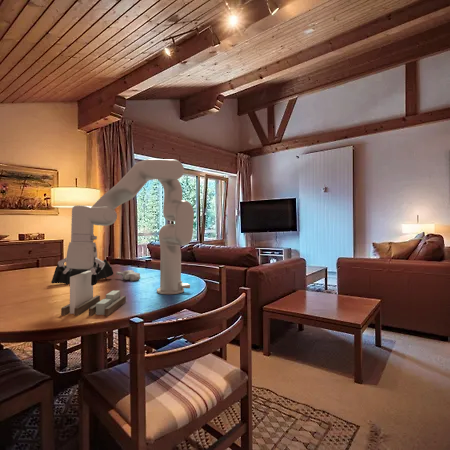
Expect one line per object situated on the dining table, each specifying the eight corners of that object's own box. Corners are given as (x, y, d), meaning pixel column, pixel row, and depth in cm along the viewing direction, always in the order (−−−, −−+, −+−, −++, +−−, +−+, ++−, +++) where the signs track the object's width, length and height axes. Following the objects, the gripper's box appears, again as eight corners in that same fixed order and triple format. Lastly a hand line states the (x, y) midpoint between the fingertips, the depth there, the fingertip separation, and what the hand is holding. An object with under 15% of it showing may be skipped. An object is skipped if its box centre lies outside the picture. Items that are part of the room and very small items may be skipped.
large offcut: (120, 302, 120) (120, 290, 120) (113, 308, 113) (113, 294, 113) (112, 302, 120) (112, 290, 120) (105, 307, 113) (105, 294, 113)
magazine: (47, 268, 147) (106, 248, 166) (45, 267, 150) (104, 247, 169) (58, 299, 151) (114, 276, 170) (56, 298, 153) (112, 275, 172)
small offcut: (111, 310, 111) (111, 299, 111) (104, 315, 105) (104, 303, 105) (102, 309, 111) (103, 299, 111) (95, 314, 105) (96, 303, 105)
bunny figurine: (130, 275, 160) (114, 268, 169) (129, 284, 160) (113, 277, 169) (144, 272, 167) (128, 267, 176) (144, 281, 168) (128, 275, 177)
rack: (125, 302, 121) (125, 295, 121) (108, 316, 103) (108, 308, 103) (85, 301, 122) (85, 295, 121) (61, 315, 103) (61, 308, 103)
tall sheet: (93, 303, 119) (93, 270, 119) (75, 313, 105) (75, 277, 105) (88, 303, 119) (88, 270, 119) (69, 313, 105) (69, 277, 105)
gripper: (109, 238, 116) (108, 283, 116) (64, 237, 116) (63, 281, 116) (101, 239, 108) (99, 287, 108) (53, 238, 108) (52, 285, 108)
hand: (81, 284), depth 112 cm, fingers open, 9 cm apart
